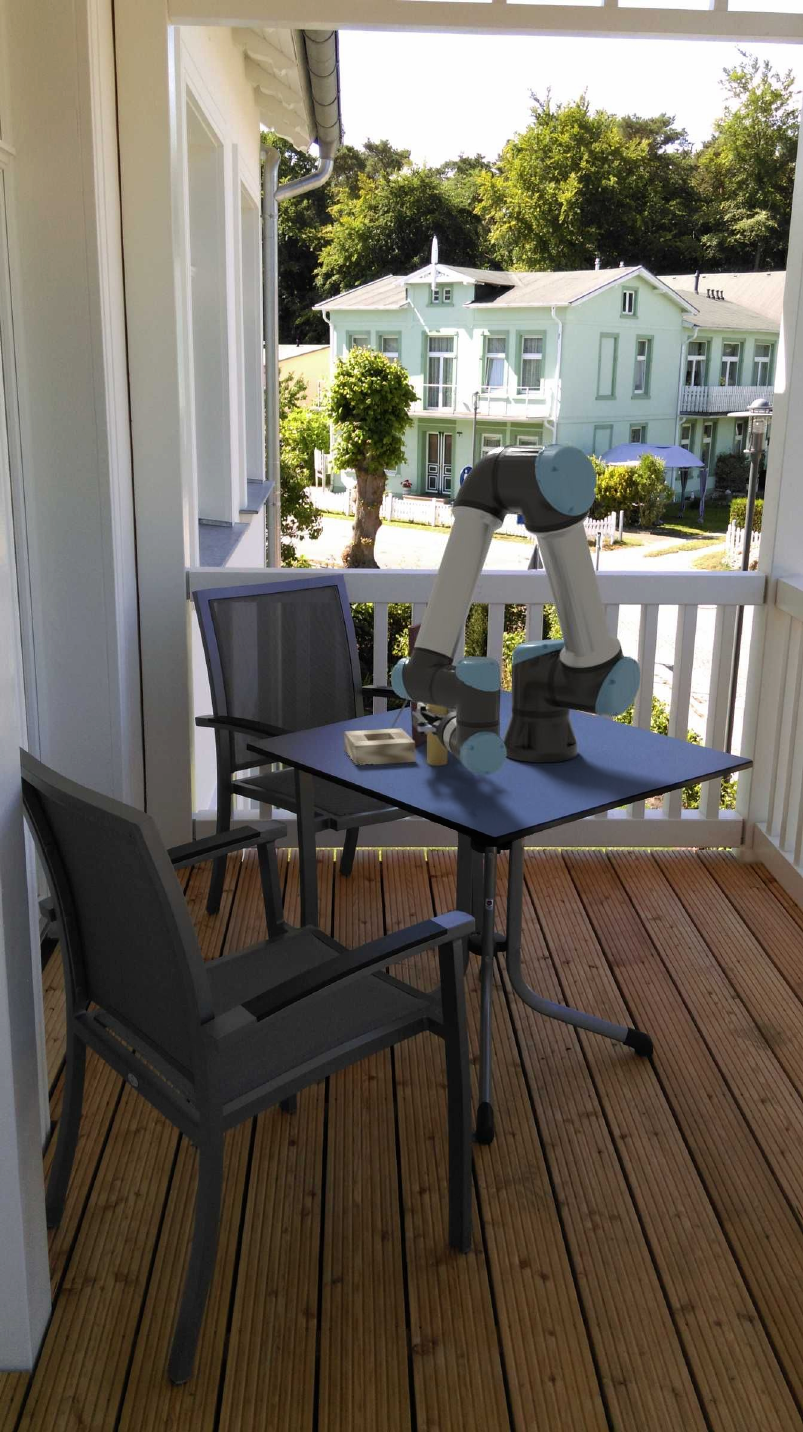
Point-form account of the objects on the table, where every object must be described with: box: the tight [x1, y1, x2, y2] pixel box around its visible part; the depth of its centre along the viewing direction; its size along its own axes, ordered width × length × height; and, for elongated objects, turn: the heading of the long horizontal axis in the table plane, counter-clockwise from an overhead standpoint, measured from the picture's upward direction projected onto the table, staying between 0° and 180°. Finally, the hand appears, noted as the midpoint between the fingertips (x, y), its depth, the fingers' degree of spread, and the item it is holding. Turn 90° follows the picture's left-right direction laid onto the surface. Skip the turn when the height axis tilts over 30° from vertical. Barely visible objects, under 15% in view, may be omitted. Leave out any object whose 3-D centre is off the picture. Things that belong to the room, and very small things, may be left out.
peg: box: [426, 704, 448, 767], centre depth 227 cm, size 4×4×18 cm
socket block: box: [344, 727, 416, 766], centre depth 234 cm, size 12×12×4 cm
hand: (430, 707), depth 232 cm, fingers closed on peg, 4 cm apart
